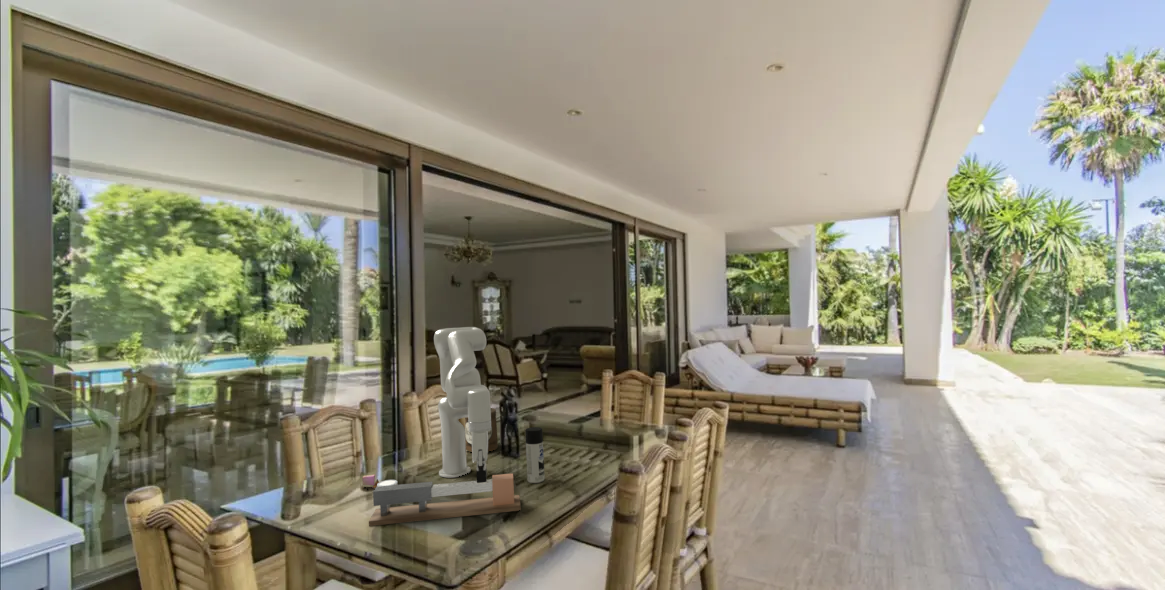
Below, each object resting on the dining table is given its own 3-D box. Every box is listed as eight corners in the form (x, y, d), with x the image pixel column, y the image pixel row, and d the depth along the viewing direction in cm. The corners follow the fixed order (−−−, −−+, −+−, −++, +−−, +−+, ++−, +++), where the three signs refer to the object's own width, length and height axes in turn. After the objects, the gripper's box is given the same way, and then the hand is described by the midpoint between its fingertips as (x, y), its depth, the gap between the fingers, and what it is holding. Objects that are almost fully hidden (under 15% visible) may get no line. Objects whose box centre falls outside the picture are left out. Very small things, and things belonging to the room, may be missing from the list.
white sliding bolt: (423, 494, 173) (422, 467, 174) (504, 486, 178) (503, 460, 178) (421, 498, 170) (420, 471, 170) (504, 490, 174) (503, 463, 174)
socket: (493, 500, 178) (492, 475, 178) (513, 497, 179) (512, 473, 179) (493, 505, 173) (492, 480, 173) (514, 503, 174) (513, 478, 174)
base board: (376, 513, 174) (376, 508, 174) (519, 499, 182) (519, 494, 182) (368, 526, 164) (368, 521, 164) (520, 510, 172) (520, 505, 172)
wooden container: (461, 453, 239) (459, 406, 239) (473, 444, 254) (471, 399, 254) (491, 453, 237) (489, 405, 237) (501, 444, 251) (500, 399, 251)
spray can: (541, 484, 196) (539, 431, 196) (524, 483, 197) (522, 430, 197) (546, 477, 202) (544, 426, 202) (530, 477, 203) (528, 426, 204)
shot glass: (378, 507, 178) (378, 487, 178) (376, 501, 184) (375, 481, 184) (399, 503, 182) (398, 483, 182) (396, 497, 188) (396, 478, 188)
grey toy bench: (377, 511, 171) (376, 486, 171) (433, 506, 174) (432, 481, 174) (373, 517, 167) (373, 491, 167) (431, 511, 170) (430, 486, 170)
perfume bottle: (356, 494, 193) (356, 482, 193) (363, 483, 205) (363, 471, 205) (390, 490, 196) (390, 478, 196) (395, 479, 208) (394, 468, 208)
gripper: (469, 420, 182) (471, 472, 182) (467, 432, 166) (469, 489, 166) (491, 419, 184) (493, 470, 184) (490, 431, 167) (492, 487, 167)
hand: (481, 479), depth 175 cm, fingers closed on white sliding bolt, 4 cm apart
